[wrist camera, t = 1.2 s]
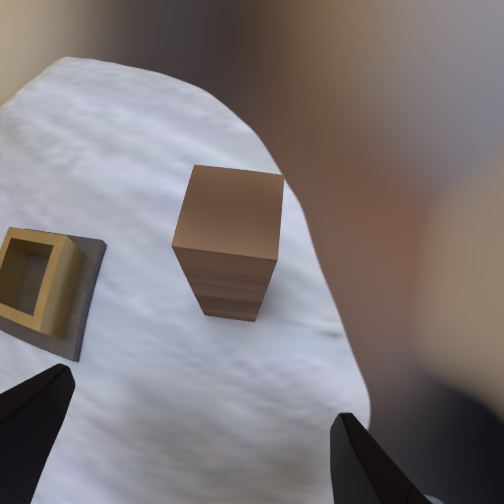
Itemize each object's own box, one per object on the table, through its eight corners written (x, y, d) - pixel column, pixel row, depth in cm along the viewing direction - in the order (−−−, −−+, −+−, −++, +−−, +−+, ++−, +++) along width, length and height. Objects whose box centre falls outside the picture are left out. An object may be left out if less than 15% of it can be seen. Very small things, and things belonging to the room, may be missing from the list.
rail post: (254, 322, 23) (277, 259, 11) (204, 314, 23) (171, 245, 11) (260, 274, 24) (284, 175, 12) (212, 268, 24) (194, 164, 12)
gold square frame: (78, 361, 20) (49, 356, 16) (0, 329, 20) (-28, 318, 16) (106, 244, 24) (86, 220, 20) (28, 232, 24) (6, 212, 20)
